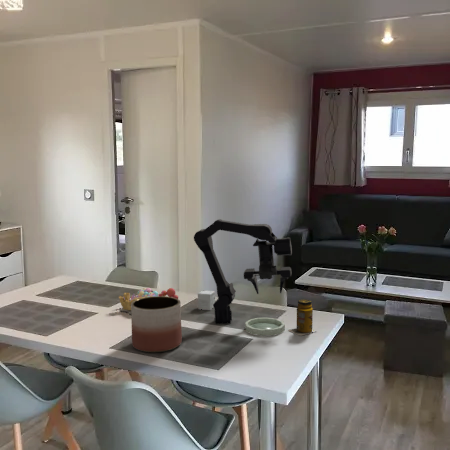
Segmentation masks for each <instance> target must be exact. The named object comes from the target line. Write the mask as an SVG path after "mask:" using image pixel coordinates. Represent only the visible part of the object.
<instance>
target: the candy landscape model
mask: <svg viewBox="0 0 450 450" xmlns="http://www.w3.org/2000/svg"><path fill="white" fill-rule="evenodd" d="M154 296H166V297H173V298H176V299H178V300H179V296H178V295H177V294H176V290H175V289H174V288H173V287H171V288H168V289H167V290H162V291H161V293H160V292H159V293H158V291H156V290H152V289H151V288H150V287H147V288H146V287H143V288H142V289H139V290H138V291H137V295H135V293H133V295H132V294H131V293H130V292H124V293H123V296H122V295H119V296H118V299H119V302H120V306H121V308H122V309H121V308H120V312H127V313H128V314H129V315H131V303H132V302H133V301H135V300H138V299H141V298H146V297H154Z"/></svg>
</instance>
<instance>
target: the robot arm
mask: <svg viewBox="0 0 450 450" xmlns="http://www.w3.org/2000/svg"><path fill="white" fill-rule="evenodd" d="M219 231H225V232H230V233H231V232H232V233H237V234H243V235H247V236H250V237H252V238H254V239H255V241H254V242H253V244H252V246H253V247H258V261H259V266H258V270H256V269H255V268H246V269H245V270H244V272H243V279H244V280H247V281H248V282H250V283H251V284H252V286H253V287H254V289H255V290H254V291H255V292H256V294H257V295H259V285H258V284H259V283H258V280H257V279H258V278H257V277H259V279H260V280H271V279H272V278H273V276H280V278H279V279H280V281H279V293H280V294H282V291H283V287H284V283H285V281H286V280H288V279H289V278H291V277H292V267H290V266H282V267H280V269H277V266H276V265H275V262H274V261H275V259H274V254H275V255H277V256H278V257H279V256H292V254H293V248H292V247H293V246H292V242H291V237H285V238H278V237H277V236H276V235H275V234H274V232H273V229H272V227H271V226H270V225H269V224H267V223H257V224H256V223H255V224H253V223H252V224H248V223H241V222H235V221H228V220H223V219H220V218H219V219H216V220H215V221H213V223H211V224H210V225H209V226H208V227H205V228H202V229H200V230H198V231H196V232H195V234H194V235H193V241H194V243H195V244H196V246H197V248H198V249H199V250H200V251H201V252H202V254H203V255H204V258H205V261H206V264H207V265H208V268H209V270H210V273H211V276H212V278H213V279H214V280H213V281H214V283H215V285H216V294H217V299H215V303H214V304H213V306H214V308H213V309H214V320H213V321H214V324H215V325H217V324H218V325H220V324H226V325H227V324H231V323H232V320H233V319H232V316H233V315H232V314H233V311H232V308H231V304H232V303H233V301H234V299H235V298H236V289H235V288H234V283H233V282H230V283H229V282H228V281H227V280H226V277H225V274H224V272H223V270H222V267H221V265H220V262H219V260H218V257H217V255H216V252H215V249H214V244H213V238H212V236H213V235H215V234H216V233H217V232H219Z"/></svg>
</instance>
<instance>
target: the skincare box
mask: <svg viewBox="0 0 450 450" xmlns="http://www.w3.org/2000/svg"><path fill="white" fill-rule="evenodd" d="M215 294H216V292H215V290H201V291H200V292H198V293H197V309H198V310H201V309H202V310H204V311H212V310H213V309H214V306H213V304H214V303H215V302H216V295H215ZM212 308H213V309H212Z"/></svg>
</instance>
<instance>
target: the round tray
mask: <svg viewBox="0 0 450 450" xmlns="http://www.w3.org/2000/svg"><path fill="white" fill-rule="evenodd" d="M244 328H245V331H246V333H249V334H250V335H254V336H255V335H256V336H261V337H266V336H267V337H268V336H276V335H280V334H282V333H284V331H285V330H286V325H285V322H284V321H283V320H280V319H278V318H275V317H274V318H273V317H256V318H251V319H249V320H246V321H245V325H244Z"/></svg>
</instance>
